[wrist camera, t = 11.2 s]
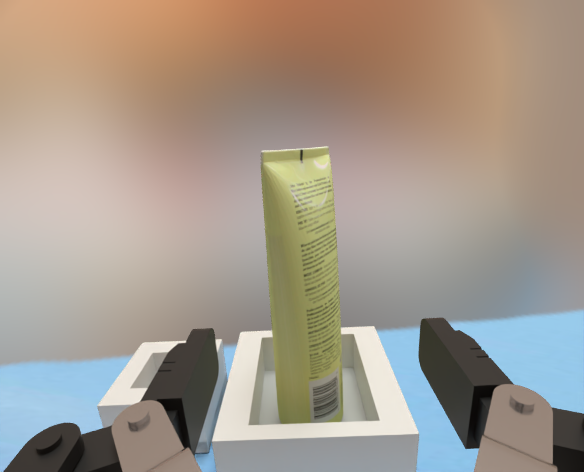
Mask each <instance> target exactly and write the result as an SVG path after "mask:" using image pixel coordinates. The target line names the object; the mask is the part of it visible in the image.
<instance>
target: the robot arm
mask: <svg viewBox="0 0 584 472" xmlns="http://www.w3.org/2000/svg"><path fill="white" fill-rule="evenodd" d="M419 362H420V366H421V369H422V371H423V373H424V375H425V377H426V378H427V380H428V382H429V384H430V386H431V387H432V389H433V391H434V393H435V395H436V396H437V398H438V400H439V402H440V404H441V405H442V407H443V409H444V411H445V413H446V414H447V416H448V418H449V420H450V422H451V423H452V425H453V427H454V429H455V431H456V432H457V434H458V436H459V438H460V440H461V441H462V443H463V445H464V447H465V449H474V448H479V452H478V456H477V460H476V465H475V469H474V472H584V414H582V413H577V412H572V411H567V410H561V409H556V408H552V407H551V406H550V404H549V403H548V402H547V401H546V400H545V399H544V398H543V397H542V396H540V395H539V394H537V393H536V392H534V391H532V390H530V389H528V388H525V387H522V386H519V385H514V384H513V383H512V382H511V381H510V379H509V378H508V377H507V376H506V375H505V374H504V373H503V372H502V370H501V369H500V368H499V367H498V366H497V365H496V364H495V363H494V361H493V360H492V359H491V358H489V356H488V355H487V354H486V353H485V351H484V350H482V349H481V347H480V346H479V345H478V344H477V342H476V341H475V340H474V339H473V338H471V337H470V336H468V335H467V334H465V333H463V332H462V331H460V330H458V331H455V330H454V329H453V328H452V327H451V326H450V324H449V323H448V322H447V321H446V320H445V319H444V318H429V319H428V318H427V319H422V321H421V326H420V340H419ZM218 373H219V362H218V355H217V348H216V341H215V334H214V330H213V329H212V328H209V329H193V330H192V331H191V333H190V335H189V337H188V339H187V341H186V343H178V344H177V345H176V346H175V347H174V348H172V349H171V350H170V351H169V352H168V353H167V355H166V357H165V358H164V360H163V362H162V364H161V366H160V367H159V369H158V372H157V373H156V374H155V376H154V378H153V380H152V381H151V383H150V385H149V387H148V388H147V390H146V392H145V394H144V395H143V397H142V399H141V401H140V402H138V403H135V404H133V405H131V406H129V407H128V408H126V409H125V410H123V411H122V412H121V413H120V414H119V415H118V416H117V417H116V419H115V420H114V422H113V424H112V425H111V426H109V427H106V428H102V429H99V430H96V431H92V432H89V433H86V434H82V435H81V432H80V428H79V427H78V426H77V425H76V424H74V423H61V424H57V425H54V426H51V427H49V428H47V429H45V430H43V431H41V432H40V433H38V434H37V435H35V436H34V437H33V438H32V439H30V440H29V441H28V442H27V443H26V444H25V445H24V447H23V448H22V449H21V450H20V451H19V453H18V454H17V455H16V456H15V458H14V459H13V460H12V462H11V463H10V464H9V465H8V467H7V468H6V469H5V470H4V472H202V471H201V469H200V467H199V465H198V464H197V462H196V460H195V458H194V455H195V452H196V449H197V445H198V442H199V439H200V435H201V432H202V429H203V425H204V422H205V419H206V416H207V412H208V409H209V406H210V402H211V399H212V396H213V392H214V389H215V386H216V383H217V379H218Z"/></svg>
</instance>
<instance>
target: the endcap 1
mask: <svg viewBox="0 0 584 472" xmlns="http://www.w3.org/2000/svg"><path fill="white" fill-rule="evenodd" d="M215 341H216V348H217V355H218V362H219V373H218V379H217V383H216V386H215V389H214V392H213V396H212V399H211V402H210V406H209V409H208V412H207V416H206V419H205V422H204V425H203V429H202V432H201V435H200V439H199V442H198V445H197V449H196V452H195V453H209V450H210V446H211V442H212V439H213V435H214V431H215V427H216V423H217V420H218V416H219V412H220V408H221V405H222V401H223V397H224V393H225V389H226V386H227V382H228V381H227V373H226V366H225V358H224V351H223V343H222V339H218V340H215ZM178 343H186V341H171V342H148V343H142V345H141V346H140V347H139V349H138V350H137V351H136V353H135V354H134V355H133V357H132V358H131V360H130V361H129V362H128V364H127V365H126V367H125V368H124V369H123V371H122V372H121V374H120V375H119V376H118V378H117V379H116V380H115V382H114V383H113V385H112V386H111V387H110V389H109V390H108V392H107V393H106V394H105V396H104V397H103V399H102V400H101V401H100V403H99V404H98V405H97V407H98V410H99V414H100V417H101V421H102V424H103V428H106V427H109V426H111V425H112V424H113V422H114V420H115V419H116V417H117V416H118V415H119V414H120V413H121V412H122V411H123V410H125V409H126V408H128V407H129V406H131V405H133V404H135V403H138V402H140V401H141V399H142V397H143V395H144V394H145V392H146V390H147V388H148V387H149V385H150V383H151V381H152V380H153V378H154V376H155V374H156V373H157V372H158V369H159V367H160V366H161V364H162V362H163V360H164V358H165V357H166V355H167V353H168V352H169V351H170V350H171V349H172V348H174V347H175V346H176V345H177V344H178Z"/></svg>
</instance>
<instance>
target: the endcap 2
mask: <svg viewBox="0 0 584 472" xmlns="http://www.w3.org/2000/svg"><path fill="white" fill-rule="evenodd" d="M341 346H342V378H343V417H342V420H341V422H329V423H302V424H282V423H281V421H280V419H279V414H278V405H277V391H276V376H275V363H274V349H273V336H272V331H254V332H241V333H240V337H239V341H238V344H237V348H236V352H235V356H234V359H233V363H232V367H231V371H230V375H229V378H228V382H227V386H226V390H225V393H224V397H223V401H222V405H221V409H220V412H219V416H218V420H217V424H216V427H215V431H214V435H213V439H212V446H213V452H214V458H215V464H216V470H217V472H416V465H417V453H418V441H419V432H418V430H417V428H416V425H415V423H414V420H413V418H412V416H411V413H410V411H409V409H408V406H407V404H406V401H405V399H404V397H403V394H402V392H401V389H400V387H399V385H398V382H397V380H396V377H395V375H394V373H393V370H392V368H391V366H390V363H389V361H388V358H387V356H386V354H385V351H384V349H383V346H382V344H381V342H380V339H379V337H378V334H377V332H376V330H375V327H374V326H373V327H349V328H348V327H347V328H341Z"/></svg>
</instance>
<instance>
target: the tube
mask: <svg viewBox="0 0 584 472" xmlns="http://www.w3.org/2000/svg"><path fill="white" fill-rule="evenodd" d="M261 175H262V176H261V177H262V194H263V206H264V221H265V234H266V248H267V264H268V278H269V294H270V308H271V321H272V336H273V349H274V363H275V376H276V391H277V405H278V414H279V419H280V421H281V423H282V424H302V423H329V422H341V420H342V417H343V378H342V346H341V321H340V299H339V278H338V258H337V241H336V225H335V209H334V193H333V182H332V170H331V161H330V156H329V148H328V146H325V147H317V148H304V149H289V150H271V151H270V150H269V151H261Z"/></svg>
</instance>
